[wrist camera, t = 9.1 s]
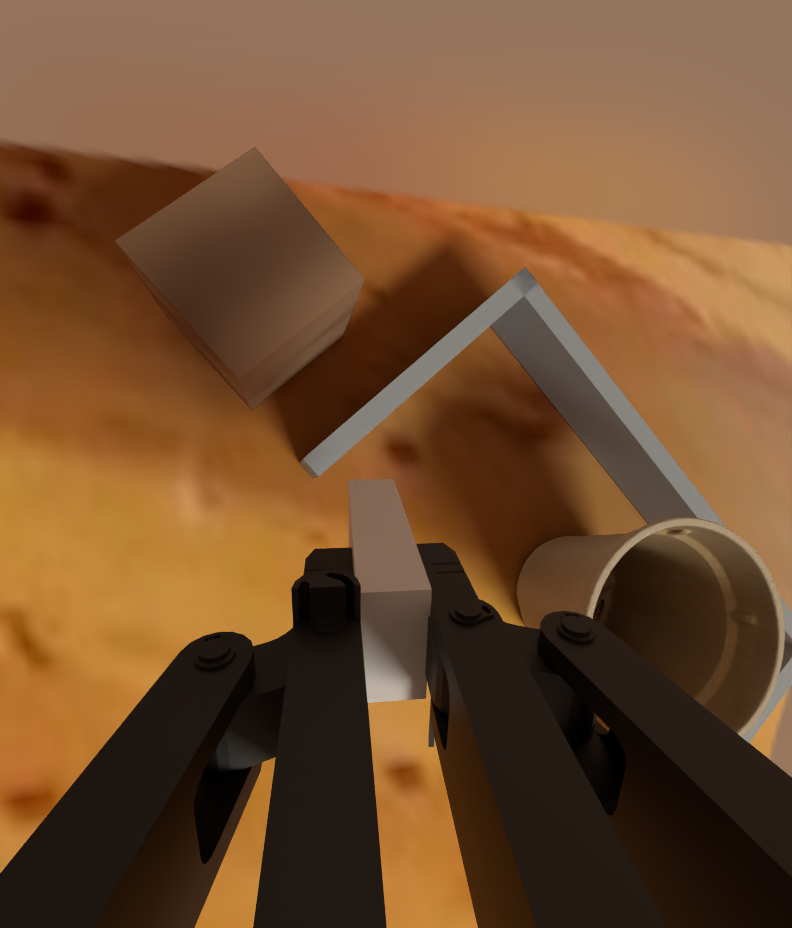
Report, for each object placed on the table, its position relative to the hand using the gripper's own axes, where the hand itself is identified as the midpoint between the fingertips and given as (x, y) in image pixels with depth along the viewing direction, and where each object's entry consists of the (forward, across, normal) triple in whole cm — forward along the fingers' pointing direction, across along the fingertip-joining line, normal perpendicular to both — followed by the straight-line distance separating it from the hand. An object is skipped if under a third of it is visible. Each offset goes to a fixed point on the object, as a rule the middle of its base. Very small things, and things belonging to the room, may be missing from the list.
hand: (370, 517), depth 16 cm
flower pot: (+8, +12, -8) cm, 16 cm away
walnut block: (+11, -5, +6) cm, 13 cm away
